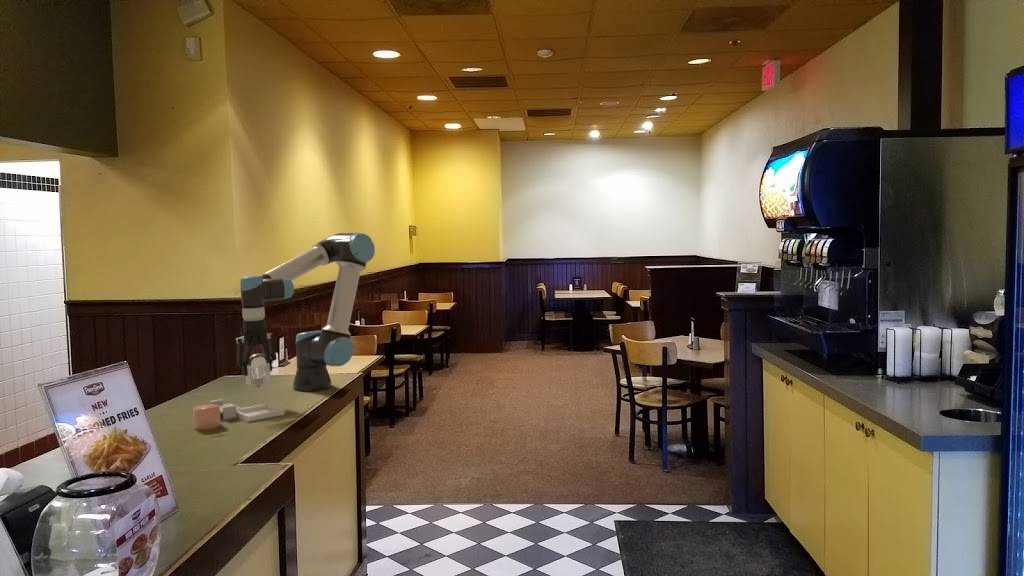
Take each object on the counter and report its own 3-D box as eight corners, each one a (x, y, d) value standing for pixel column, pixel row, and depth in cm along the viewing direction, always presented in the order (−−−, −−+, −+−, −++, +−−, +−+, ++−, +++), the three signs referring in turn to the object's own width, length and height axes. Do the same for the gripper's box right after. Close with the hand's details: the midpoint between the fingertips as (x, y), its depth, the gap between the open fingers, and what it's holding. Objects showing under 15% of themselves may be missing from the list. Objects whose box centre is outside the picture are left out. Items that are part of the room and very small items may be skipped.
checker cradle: (229, 411, 251) (228, 397, 251) (245, 418, 241) (245, 404, 241) (200, 416, 245) (199, 402, 244) (216, 424, 234) (215, 409, 234)
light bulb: (262, 389, 251) (260, 355, 250) (244, 388, 253) (242, 355, 252) (272, 384, 258) (270, 352, 257) (255, 384, 259) (253, 351, 258)
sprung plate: (230, 406, 249) (230, 403, 249) (241, 410, 243) (241, 407, 242) (204, 410, 243) (204, 407, 243) (214, 415, 236) (214, 412, 236)
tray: (268, 410, 252) (268, 403, 252) (285, 416, 243) (284, 409, 243) (232, 417, 244) (231, 409, 243) (248, 424, 234) (247, 416, 234)
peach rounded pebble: (215, 423, 235) (214, 403, 235) (224, 428, 229) (223, 407, 229) (190, 428, 230) (189, 407, 229) (199, 433, 224) (198, 411, 223)
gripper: (275, 315, 262) (279, 376, 265) (222, 321, 249) (227, 385, 251) (284, 316, 257) (288, 379, 259) (231, 323, 244) (235, 389, 246)
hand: (258, 382), depth 255 cm, fingers closed on light bulb, 6 cm apart
